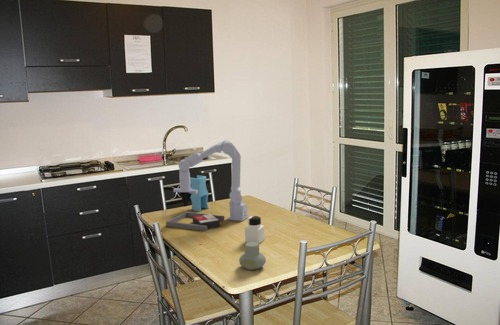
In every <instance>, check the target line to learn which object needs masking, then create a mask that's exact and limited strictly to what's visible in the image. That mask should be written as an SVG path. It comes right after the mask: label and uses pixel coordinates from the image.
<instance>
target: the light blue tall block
mask: <svg viewBox="0 0 500 325" xmlns="http://www.w3.org/2000/svg"><path fill="white" fill-rule="evenodd" d="M206 181H207V176H205V175H196V178H195V177H190V185H191V189H195V190H198V193H197V194H192V195H191V197H190V200H191V211H195V212H199V213H200V212H202V209H206V210H207V209H210V208H209V204H208V198H209V192H208V189H207V185H206V184H207V183H206Z"/></svg>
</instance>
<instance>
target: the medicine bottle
mask: <svg viewBox="0 0 500 325" xmlns="http://www.w3.org/2000/svg"><path fill="white" fill-rule="evenodd" d="M261 220H262V219H261V216H257V215H252V216H249V217H248V218H247V223H248V224H247V227H245V228H244V237H245V240H244V242H245V243H248V242H257V243H258V244H259V245H260V243H262V242H264V241H265V225H262V221H261Z"/></svg>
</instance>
